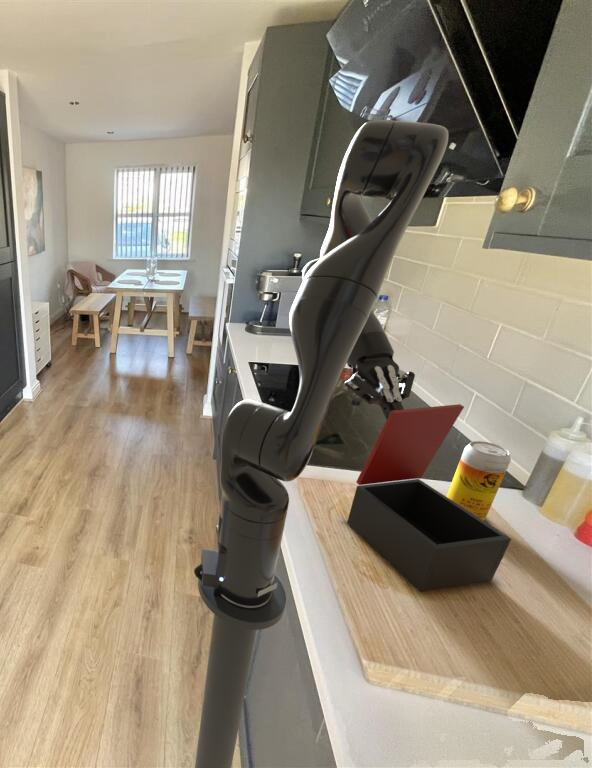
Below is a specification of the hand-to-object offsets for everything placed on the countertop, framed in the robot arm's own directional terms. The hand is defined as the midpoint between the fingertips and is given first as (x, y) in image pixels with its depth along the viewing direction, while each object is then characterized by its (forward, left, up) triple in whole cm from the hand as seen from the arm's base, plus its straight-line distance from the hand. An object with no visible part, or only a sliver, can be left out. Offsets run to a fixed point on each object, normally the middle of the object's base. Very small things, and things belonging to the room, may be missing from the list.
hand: (399, 423), depth 70 cm
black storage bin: (+3, -8, -21) cm, 22 cm away
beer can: (+17, +4, -21) cm, 27 cm away
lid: (+1, -3, -3) cm, 4 cm away
